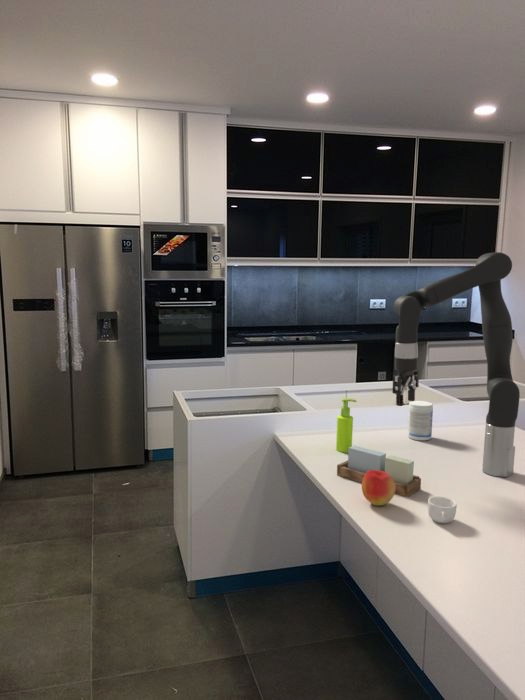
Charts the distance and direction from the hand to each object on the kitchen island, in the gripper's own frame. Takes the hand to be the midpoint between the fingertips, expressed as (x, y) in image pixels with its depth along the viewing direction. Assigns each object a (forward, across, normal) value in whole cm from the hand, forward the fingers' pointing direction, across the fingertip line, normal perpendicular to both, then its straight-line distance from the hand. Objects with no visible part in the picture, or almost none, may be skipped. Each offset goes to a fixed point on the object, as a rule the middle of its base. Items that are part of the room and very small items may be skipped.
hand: (405, 403), depth 192 cm
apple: (+24, -30, -6) cm, 39 cm away
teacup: (+25, -28, -25) cm, 45 cm away
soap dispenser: (+24, +6, +28) cm, 37 cm away
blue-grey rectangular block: (+23, -15, +7) cm, 28 cm away
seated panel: (+24, -15, -5) cm, 28 cm away
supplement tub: (+25, +40, +14) cm, 49 cm away
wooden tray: (+24, -15, +2) cm, 28 cm away
